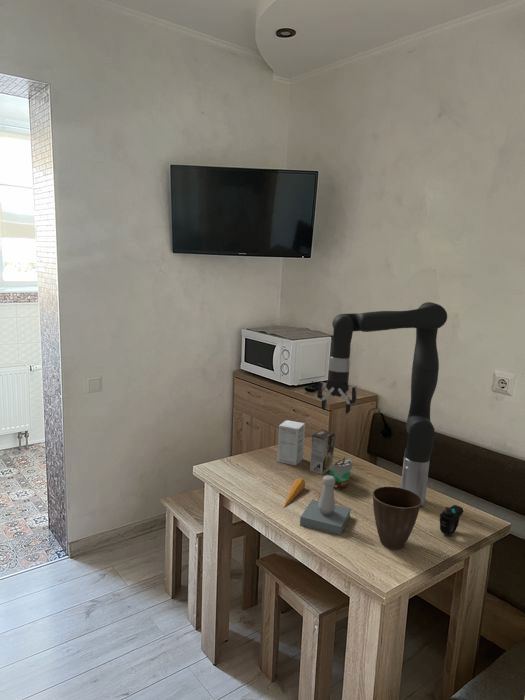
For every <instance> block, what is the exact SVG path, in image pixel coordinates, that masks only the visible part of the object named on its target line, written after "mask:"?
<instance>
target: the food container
mask: <svg viewBox="0 0 525 700" xmlns="http://www.w3.org/2000/svg"><path fill="white" fill-rule="evenodd" d="M352 469H353V462H352V460H351V459H350V458H348V457H346V456H343V458H342V459H341V460H338V461H336V462H335V463H333V464H332V465H331V464H330V469H329V470H328V471H329V475H330V476H333V477H334V478H335V484H334V485H333V489H334V490H343V489H346V488H348V486H349V479H350V474H351V470H352Z"/></svg>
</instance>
